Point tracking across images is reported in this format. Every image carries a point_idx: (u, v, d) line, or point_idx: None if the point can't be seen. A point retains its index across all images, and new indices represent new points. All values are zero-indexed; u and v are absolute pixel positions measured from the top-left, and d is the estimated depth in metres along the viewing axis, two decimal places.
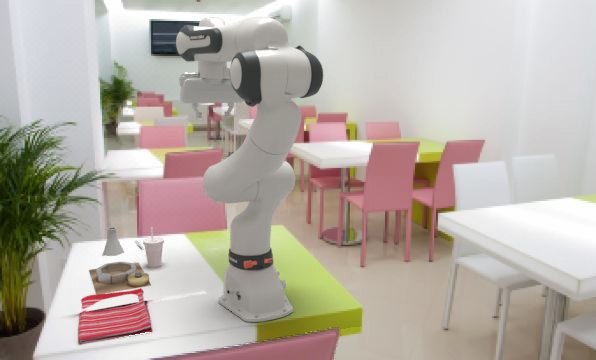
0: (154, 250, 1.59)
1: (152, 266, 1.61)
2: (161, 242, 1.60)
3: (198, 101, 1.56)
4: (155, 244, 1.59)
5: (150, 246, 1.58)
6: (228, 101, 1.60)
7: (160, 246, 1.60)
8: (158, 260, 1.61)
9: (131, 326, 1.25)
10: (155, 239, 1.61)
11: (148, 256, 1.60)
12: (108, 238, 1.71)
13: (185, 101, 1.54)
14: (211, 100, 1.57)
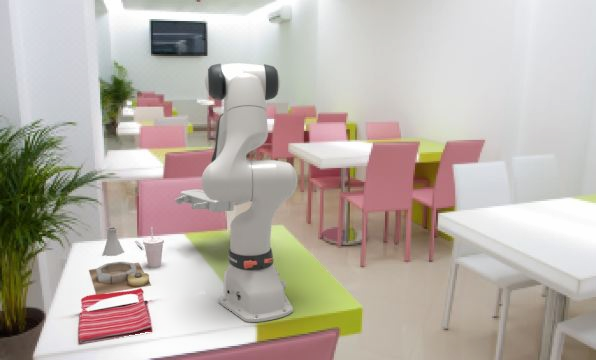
0: (154, 250, 1.59)
1: (152, 266, 1.61)
2: (161, 242, 1.60)
3: (188, 193, 1.75)
4: (155, 244, 1.59)
5: (150, 246, 1.58)
6: (205, 198, 1.68)
7: (160, 246, 1.60)
8: (158, 260, 1.61)
9: (131, 326, 1.25)
10: (155, 239, 1.61)
11: (148, 256, 1.60)
12: (108, 238, 1.71)
13: (181, 191, 1.77)
14: (196, 195, 1.72)
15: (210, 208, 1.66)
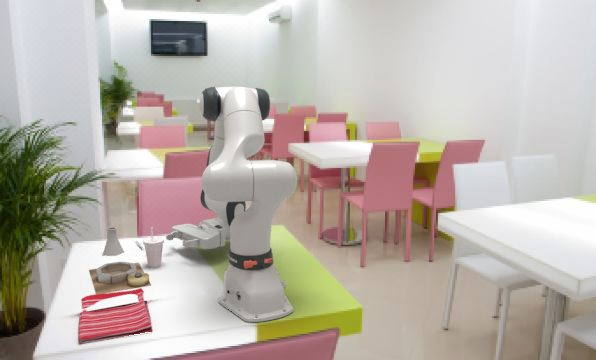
0: (154, 250, 1.59)
1: (152, 266, 1.61)
2: (161, 242, 1.60)
3: (179, 229, 1.74)
4: (155, 244, 1.59)
5: (150, 246, 1.58)
6: (196, 235, 1.68)
7: (160, 246, 1.60)
8: (158, 260, 1.61)
9: (131, 326, 1.25)
10: (155, 239, 1.61)
11: (148, 256, 1.60)
12: (108, 238, 1.71)
13: None
14: (187, 231, 1.72)
15: (201, 245, 1.66)
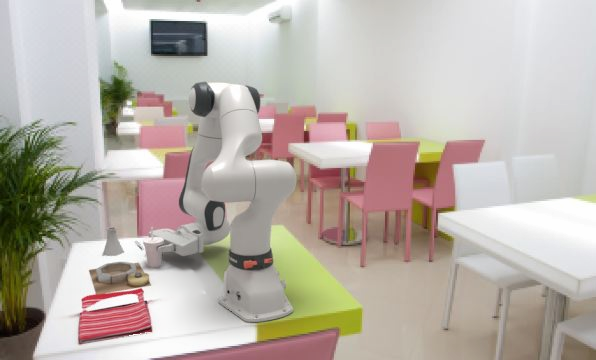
0: (154, 250, 1.59)
1: (152, 266, 1.61)
2: (161, 242, 1.60)
3: (156, 234, 1.68)
4: (155, 244, 1.59)
5: (150, 246, 1.58)
6: (173, 241, 1.61)
7: None
8: (158, 260, 1.61)
9: (131, 326, 1.25)
10: (155, 239, 1.61)
11: (148, 256, 1.60)
12: (108, 238, 1.71)
13: None
14: (164, 236, 1.65)
15: (178, 251, 1.59)
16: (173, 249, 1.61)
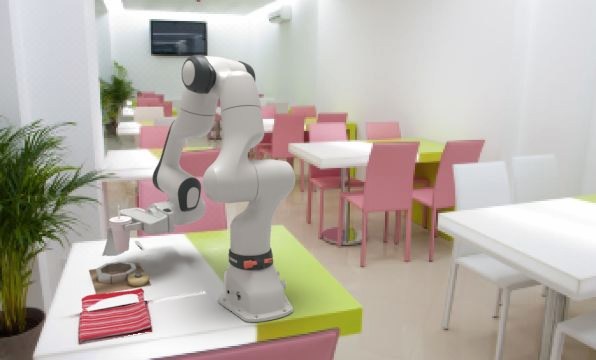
0: (120, 229, 1.50)
1: (119, 247, 1.51)
2: (128, 221, 1.51)
3: (125, 213, 1.58)
4: (122, 223, 1.49)
5: (116, 225, 1.49)
6: (141, 219, 1.52)
7: None
8: (125, 240, 1.51)
9: (131, 326, 1.25)
10: (122, 218, 1.52)
11: (115, 236, 1.50)
12: (108, 238, 1.71)
13: None
14: (132, 215, 1.56)
15: (146, 230, 1.50)
16: (141, 228, 1.51)
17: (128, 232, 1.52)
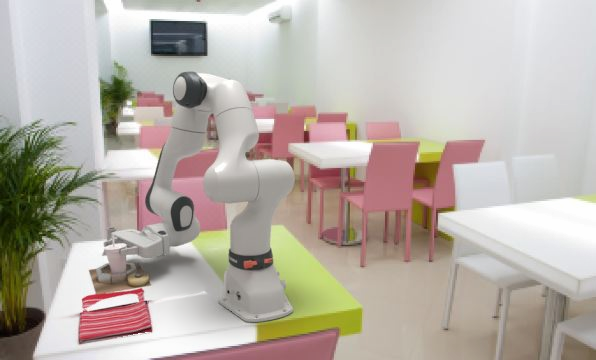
0: (116, 257, 1.49)
1: None
2: None
3: (119, 235, 1.58)
4: (117, 250, 1.48)
5: (111, 253, 1.48)
6: (135, 242, 1.51)
7: None
8: (122, 267, 1.50)
9: (131, 326, 1.25)
10: (117, 245, 1.51)
11: (111, 264, 1.49)
12: (108, 238, 1.71)
13: (113, 232, 1.60)
14: (127, 238, 1.55)
15: (140, 254, 1.49)
16: None
17: (124, 259, 1.51)
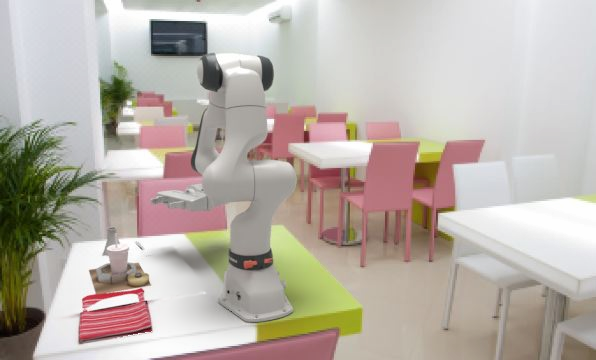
0: (118, 258, 1.48)
1: None
2: (126, 250, 1.49)
3: (164, 193, 1.67)
4: (119, 252, 1.48)
5: (114, 254, 1.48)
6: (182, 198, 1.61)
7: (125, 254, 1.49)
8: (122, 268, 1.50)
9: (131, 325, 1.25)
10: (120, 246, 1.50)
11: (112, 265, 1.49)
12: (108, 238, 1.71)
13: (158, 192, 1.70)
14: (172, 195, 1.65)
15: (187, 207, 1.58)
16: None
17: (125, 260, 1.50)
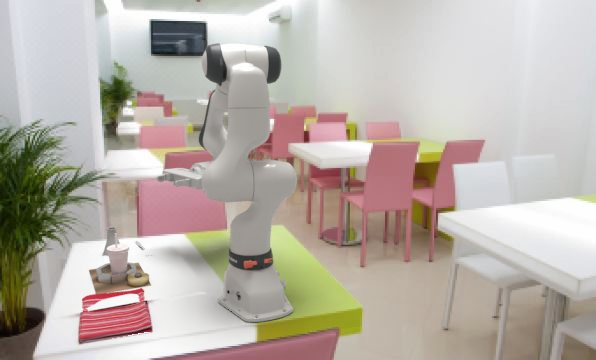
0: (118, 258, 1.48)
1: None
2: (126, 250, 1.49)
3: (170, 171, 1.67)
4: (119, 252, 1.48)
5: (114, 254, 1.48)
6: (187, 175, 1.61)
7: (125, 254, 1.49)
8: (122, 268, 1.50)
9: (131, 325, 1.25)
10: (120, 246, 1.50)
11: (112, 265, 1.49)
12: (108, 238, 1.71)
13: (164, 170, 1.70)
14: (178, 173, 1.65)
15: (193, 185, 1.59)
16: None
17: (125, 260, 1.50)
